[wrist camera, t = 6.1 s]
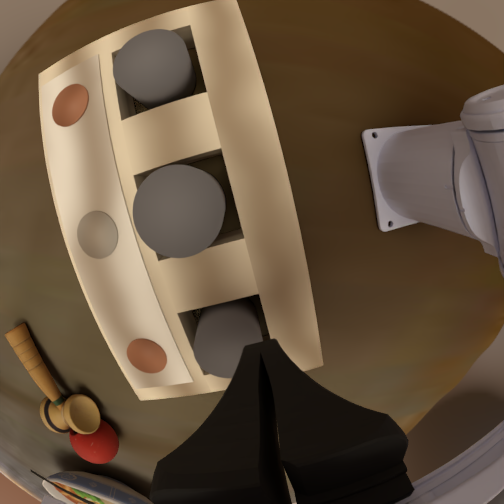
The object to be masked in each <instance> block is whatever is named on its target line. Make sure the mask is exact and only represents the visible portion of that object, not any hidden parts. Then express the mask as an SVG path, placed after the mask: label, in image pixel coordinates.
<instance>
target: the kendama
mask: <svg viewBox="0 0 504 504" xmlns="http://www.w3.org/2000/svg"><path fill="white" fill-rule="evenodd" d="M5 336H6V338H7V340H8V341H9V343H10V345H11V346H12V347H13V349H14V351H15V353H16V354H17V355H18V357H19V359H20V360H21V362H22V363H23V365H24V367H25V368H26V370H28V372H29V374H30V375H31V377H32V378H33V380H34V381H35V382H36V384H37V385H38V386H39V387H40V389H41V390H42V391H43V392H44V393H45V394H46V396H47V397H45V398H44V399H43V400H42V402H41V405H40V415H41V418H42V420H43V422H44V424H45V425H46V426H47V427H48V428H49V429H50V430H52V431H54V432H57V433H62V434H64V433H68V432H70V435H69V436H70V442H71V445H72V447H73V449H74V450H75V451H76V453H77V454H78V455H79V456H80V457H82V458H83V459H85V460H87V461H89V462H91V463H96V464H102V463H107V462H109V461H111V460H112V459H113V458H114V457H115V455H116V454H117V452H118V448H119V441H118V437H117V435H116V433H115V431H114V430H113V428H112V427H111V426H110V425H109V424H108V423H107V422H105V421H103V420H102V419H100V413H99V409H98V407H97V405H96V404H95V402H94V401H93V400H92V399H91V398H89V397H88V396H85V395H82V394H75V395H72V396H70V397H69V398H68V399H67V400H66V399H65V398H64V397H63V396H62V395H61V393H60V391H59V389H58V387H57V385H56V384H55V382H54V380H53V378H52V376H51V374H50V372H49V371H48V369H47V367H46V365H45V364H44V362H43V361H42V358H41V356H40V354H39V353H38V350H37V348H36V347H35V345H34V342H33V340H32V338H31V337H30V334H29V331H28V329H27V327H26V324H25V323H22V324H21V325H19V326H17V327H15V328H14V329H12V330H11V331H9V332H7V333H6V334H5Z"/></svg>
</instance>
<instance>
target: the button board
mask: <svg viewBox="0 0 504 504" xmlns="http://www.w3.org/2000/svg"><path fill="white" fill-rule="evenodd" d="M154 29H165V30H169V31H172V32H175V33H176V34H178V35H179V36H180V37H181V38H182V39H183V41H184V43H185V45H186V48H187V49H191V48H195V47H196V50H197V54H198V58H199V62H200V66H201V70H202V74H203V78H204V82H205V86H206V90H207V92H205V93H202V94H198V95H194V96H191V97H187V98H184V99H181V100H177V101H174V102H171V103H168V104H165V105H162V106H159V107H156V108H153V109H150V110H148V111H145V112H142V113H140V114H137V115H136V111H135V106H134V101H133V97H132V96H131V95H130V94H129V93H127V92H126V91H125V90H124V89H122V88H121V87H120V86H119V85H118V84H117V83H116V81H115V79H114V76H113V64H114V60H115V58H116V56H117V54H118V52H119V50H120V49H121V48H122V47H123V45H124V44H125V43H126V42H128V41H129V40H130V39H131V38H133V37H134V36H136V35H138V34H140V33H143V32H145V31H149V30H154ZM39 104H40V118H41V129H42V138H43V146H44V153H45V159H46V165H47V171H48V176H49V181H50V186H51V191H52V195H53V199H54V204H55V208H56V211H57V215H58V219H59V223H60V226H61V230H62V233H63V236H64V240H65V243H66V246H67V249H68V252H69V255H70V258H71V261H72V264H73V266H74V269H75V272H76V275H77V277H78V280H79V282H80V285H81V287H82V290H83V292H84V295H85V297H86V300H87V302H88V304H89V307H90V309H91V311H92V313H93V315H94V318H95V320H96V322H97V324H98V326H99V328H100V330H101V332H102V334H103V336H104V338H105V340H106V342H107V344H108V346H109V348H110V350H111V352H112V354H113V356H114V357H115V359H116V361H117V363H118V365H119V366H120V368H121V370H122V372H123V373H124V375H125V377H126V378H127V380H128V382H129V383H130V385H131V387H132V388H133V390H134V391H135V393H136V394H137V396H138V398H139V399H140V401H141V400H153V399H164V398H173V397H181V396H189V395H196V394H203V393H209V392H215V391H221V390H226V389H227V387H228V385H229V383H230V381H231V379H232V378H220V377H217V376H214V375H211V374H209V373H208V372H206V371H205V370H204V369H202V368H201V367H200V366H199V364H198V363H197V361H196V359H195V357H194V352H193V347H194V341H195V336H196V331H197V327H198V326H197V323H196V320H195V318H194V315H193V312H192V310H194V309H198V308H202V307H207V306H211V305H215V304H219V303H223V302H228V301H232V300H236V299H240V298H244V297H248V296H252V295H256V294H259V296H260V300H261V304H262V308H263V311H264V315H265V319H266V323H267V327H268V330H269V334H270V335H268V336H264V337H262V339H263V341H266V340H270V339H273V338H275V339H277V340H278V343H279V344H280V346H281V348H282V349H283V350H284V352H285V353H286V354H287V355H288V357H289V358H290V359H291V360H292V361H293V362H294V363H295V364H296V365H297V366H298V367H299V368H300V369H301V370H302V371H306V370H310V369H313V368H316V367H320V366H323V359H322V352H321V345H320V339H319V332H318V326H317V319H316V313H315V307H314V301H313V295H312V290H311V284H310V279H309V273H308V268H307V263H306V257H305V252H304V247H303V242H302V237H301V232H300V228H299V223H298V218H297V214H296V209H295V204H294V200H293V196H292V191H291V187H290V182H289V178H288V174H287V170H286V166H285V162H284V158H283V154H282V150H281V146H280V142H279V138H278V134H277V130H276V126H275V123H274V119H273V115H272V112H271V108H270V104H269V101H268V97H267V94H266V90H265V87H264V84H263V80H262V77H261V74H260V70H259V67H258V64H257V60H256V57H255V54H254V51H253V48H252V45H251V42H250V39H249V36H248V33H247V30H246V27H245V24H244V21H243V18H242V15H241V12H240V9H239V6H238V4H237V1H236V0H216V1H211V2H206V3H201V4H197V5H193V6H189V7H185V8H181V9H178V10H174V11H171V12H167V13H164V14H161V15H158V16H155V17H152V18H149V19H146V20H143V21H141V22H138V23H135V24H133V25H130V26H128V27H125V28H123V29H120V30H118V31H116V32H114V33H111V34H109V35H107V36H105V37H103V38H101V39H98V40H96V41H94V42H92V43H90V44H89V45H87V46H85V47H83V48H81V49H79V50H77V51H76V52H74V53H72V54H70V55H69V56H67V57H65V58H63V59H62V60H60V61H59V62H57V63H55V64H54V65H52V66H51V67H49V68H48V69H46V70H45V71H43V72H42V73H40V74H39ZM222 154H223V157H224V161H225V164H226V168H227V172H228V176H229V180H230V184H231V188H232V192H233V196H234V200H235V203H236V207H237V211H238V215H239V219H240V223H241V227H242V229H238V230H234V231H230V232H226V233H222V234H219V235H217V237H216V238H215V240H214V241H213V242H212V243H211V245H210V246H208V247H207V248H206V249H205V250H203V251H202V252H200V253H198V254H196V255H193V256H190V257H186V258H171V257H166V256H163V255H161V254H159V253H157V252H155V251H153V250H152V249H151V248H149V247H148V246H147V245H146V244H145V243H144V242H143V240H142V239H141V238H140V236H139V234H138V232H137V230H136V228H135V225H134V220H133V202H134V198H135V195H136V192H137V190H138V188H139V187H140V185H141V184H142V182H143V181H144V180H145V179H146V178H147V177H148V176H149V175H150V174H151V173H153V172H154V171H156V170H158V169H160V168H162V167H165V166H169V165H176V164H177V165H186V164H189V163H193V162H196V161H199V160H203V159H207V158H210V157H214V156H218V155H222Z"/></svg>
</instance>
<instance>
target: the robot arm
mask: <svg viewBox="0 0 504 504" xmlns="http://www.w3.org/2000/svg"><path fill="white" fill-rule="evenodd" d="M460 118H461V121H455V122H449V123H443V124H437V125H421V126H403V127H389V128H378V129H368V130H365V131H363V132H362V140H363V144H364V148H365V153H366V158H367V162H368V167H369V172H370V177H371V183H372V188H373V194H374V200H375V207H376V213H377V221H378V227H379V229H380V230H381V231H384V232H386V231H390V230H393V229H397V228H400V227H404V226H407V225H411V224H414V223H418V222H423V223H426V224H429V225H433V226H436V227H440V228H443V229H446V230H449V231H452V232H456V233H459V234H462V235H465V236H468V237H471V238H474V239H477V240H479V241H480V242H481V243H482V245H483V247H484V251H485V253H488V254H490V255H493V256H495V257H498V259H499V267H500V271H501V273H502V276H503V277H504V85H501V86H498V87H495V88H492V89H489V90H486V91H484V92H481V93H479V94H477V95H475V96H473V97H471V98H469V99H468V100H467V101H466V102H465V104H464V107H463V110H462V112H461V114H460ZM372 133H374V134H375V138H373V137H372ZM389 221H390V222H391V225H390V226H388V222H389ZM277 426H278V430H277ZM278 434H279V440H278ZM279 444H280V447H279ZM407 447H408V439H407V437H406V435H405V433H404V432H403V431H402V429H401V428H400V427H399V426H398V425H397V423H396V422H395V421H394V420H393V419H392V418H391V417H390V416H389V415H388V414H384V413H380V412H377V411H373V410H370V409H367V408H364V407H361V406H359V405H356V404H354V403H352V402H349V401H347V400H345V399H343V398H341V397H339V396H337V395H336V394H334V393H332V392H330V391H329V390H327V389H325V388H324V387H322V386H321V385H320V384H318V383H317V382H315V381H314V380H313V379H311V378H310V377H309V376H308V375H307V374H305V373H304V372H303V371H302V370H301V369H300V368H299V367H298V366H297V365H296V364H295V363H294V362H293V361H292V360H291V359H290V358H289V357H288V355H287V354H286V353H285V352H284V350H283V349H282V348H281V346H280V344H279V343H278V340H277V339H275V338H273V339H270V340H266V341H262V342H258V343H253V344H249V345H245V346H244V348H243V351H242V354H241V357H240V360H239V363H238V365H237V368H236V370H235V373H234V375H233V377H232V379H231V381H230V383H229V385H228V387H227V389H226V391H225V393H224V395H223V396H222V398H221V400H220V401H219V403H218V404H217V406H216V407H215V409H214V410H213V411H212V413H211V414H210V415H209V417H208V418H207V419H206V420H205V422H204V423H203V424H202V425H201V426H200V427H199V428H198V429H197V431H196V432H194V433H193V434H192V435H191V436H190V437H189V438H188V439H187V440H186V441H185V442H184V443H183V444H182V445H180V446H179V447H178V448H177V449H175V450H174V451H173V452H171V453H170V454H168V455H167V456H166V457H164V458H163V459H161V460H160V461H158V462H157V466H156V469H155V472H154V475H153V480H152V485H151V491H150V496H149V497H150V499H151V501H152V502H153V503H154V504H292V502H291V498H290V494H289V489H288V485H287V481H286V476H285V471H286V473H287V475H288V478H289V480H290V482H291V484H292V487H293V489H294V492H295V497H296V502H297V504H487V503H488V502H489V501H490V500H492V499H493V498H494V497H495V496H496V495H498V494H499V493H500V492H501V491H502V490H503V489H504V421H502V422H501V423H500V424H499V425H498V426H497V427H495V428H494V429H493V430H492V431H491V432H489V433H488V434H487V435H486V436H485V437H483V438H482V439H481V440H479V441H478V442H477V443H475V444H474V445H473V446H471V447H470V448H469V449H467V450H466V451H464V452H463V453H462V454H460V455H459V456H458V457H456V458H454V459H453V460H451V461H450V462H448V463H447V464H445V465H443V466H442V467H440V468H438V469H437V470H435V471H433V472H431V473H430V474H428V475H426V476H424V477H423V478H421V479H419V480H417V481H415V482H413V483H411V482H410V480H409V478H408V476H407V474H406V472H407V467H406V465H405V464H404V462H403V458H404V456H405V453H406V450H407ZM283 466H284V467H283ZM284 468H285V471H284ZM41 504H67V503H65V502H63V501H61V500H58V499H55V498H53V497H50V496H48V495H44V498H43V500H42V503H41Z"/></svg>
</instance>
